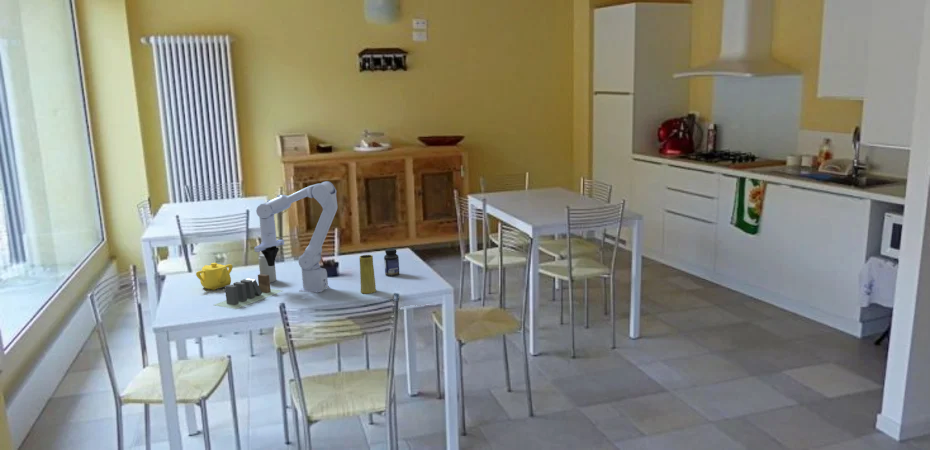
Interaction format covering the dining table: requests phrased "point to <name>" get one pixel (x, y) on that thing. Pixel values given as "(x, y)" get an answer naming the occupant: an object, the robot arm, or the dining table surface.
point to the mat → (248, 300)
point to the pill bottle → (391, 262)
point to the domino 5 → (264, 283)
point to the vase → (367, 274)
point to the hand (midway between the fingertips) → (271, 265)
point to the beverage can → (267, 268)
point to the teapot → (215, 276)
